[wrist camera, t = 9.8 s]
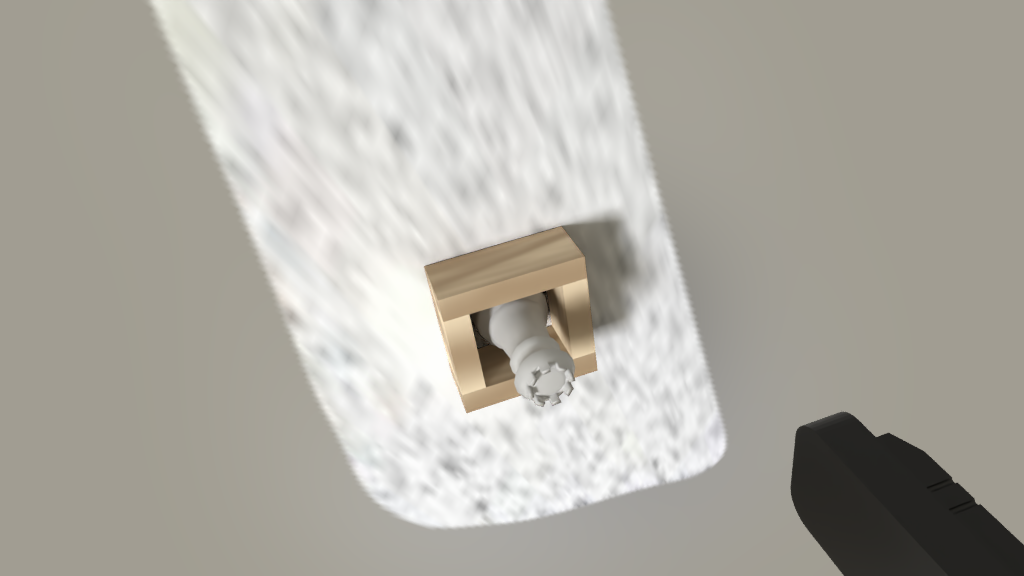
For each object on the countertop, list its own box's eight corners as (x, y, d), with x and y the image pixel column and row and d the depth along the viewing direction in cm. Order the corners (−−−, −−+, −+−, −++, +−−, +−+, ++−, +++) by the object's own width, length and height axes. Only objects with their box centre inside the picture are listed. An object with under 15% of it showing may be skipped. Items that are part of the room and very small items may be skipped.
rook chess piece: (556, 290, 45) (610, 371, 38) (509, 344, 46) (553, 432, 39) (501, 255, 42) (548, 336, 36) (452, 314, 43) (490, 402, 37)
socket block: (424, 266, 41) (437, 300, 38) (561, 226, 42) (584, 256, 40) (452, 375, 46) (466, 413, 43) (575, 336, 47) (597, 370, 44)
